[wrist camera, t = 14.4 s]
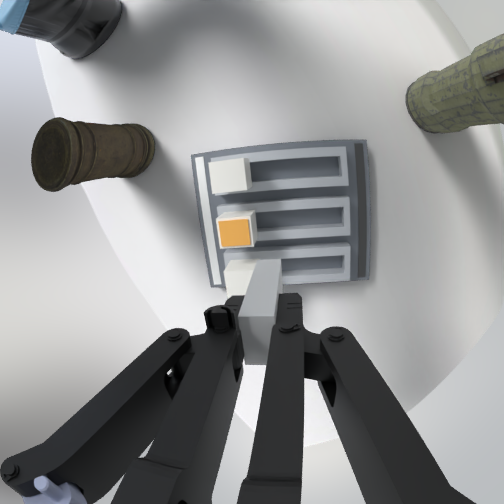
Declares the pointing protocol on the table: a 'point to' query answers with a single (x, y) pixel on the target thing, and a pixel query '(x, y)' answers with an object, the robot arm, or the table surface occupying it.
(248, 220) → the handle
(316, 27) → the table surface
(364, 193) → the panel
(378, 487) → the robot arm
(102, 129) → the container
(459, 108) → the thermos
